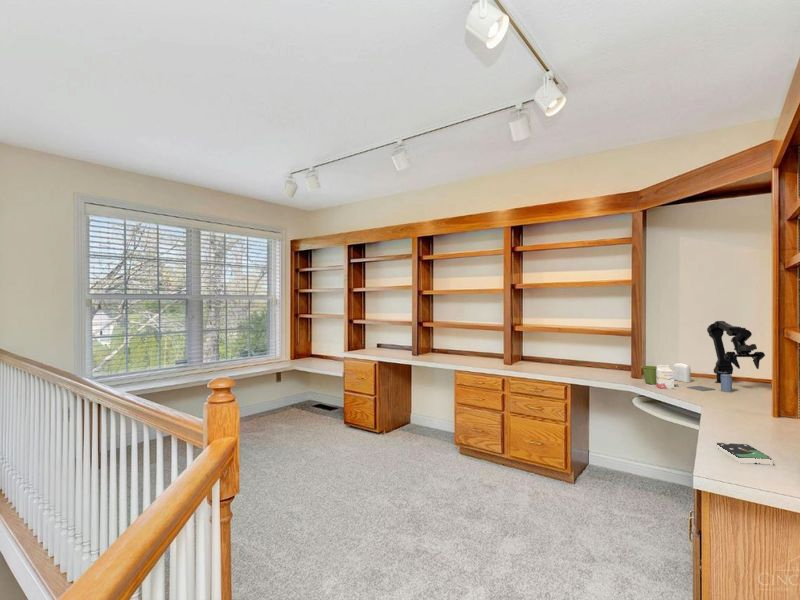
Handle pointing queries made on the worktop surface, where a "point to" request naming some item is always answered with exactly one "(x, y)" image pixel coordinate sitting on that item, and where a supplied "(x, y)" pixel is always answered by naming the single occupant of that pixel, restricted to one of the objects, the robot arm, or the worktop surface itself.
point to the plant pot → (650, 374)
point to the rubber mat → (701, 388)
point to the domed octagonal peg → (726, 383)
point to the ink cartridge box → (664, 377)
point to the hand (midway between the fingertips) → (748, 368)
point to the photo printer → (682, 372)
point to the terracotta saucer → (727, 392)
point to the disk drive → (743, 451)
